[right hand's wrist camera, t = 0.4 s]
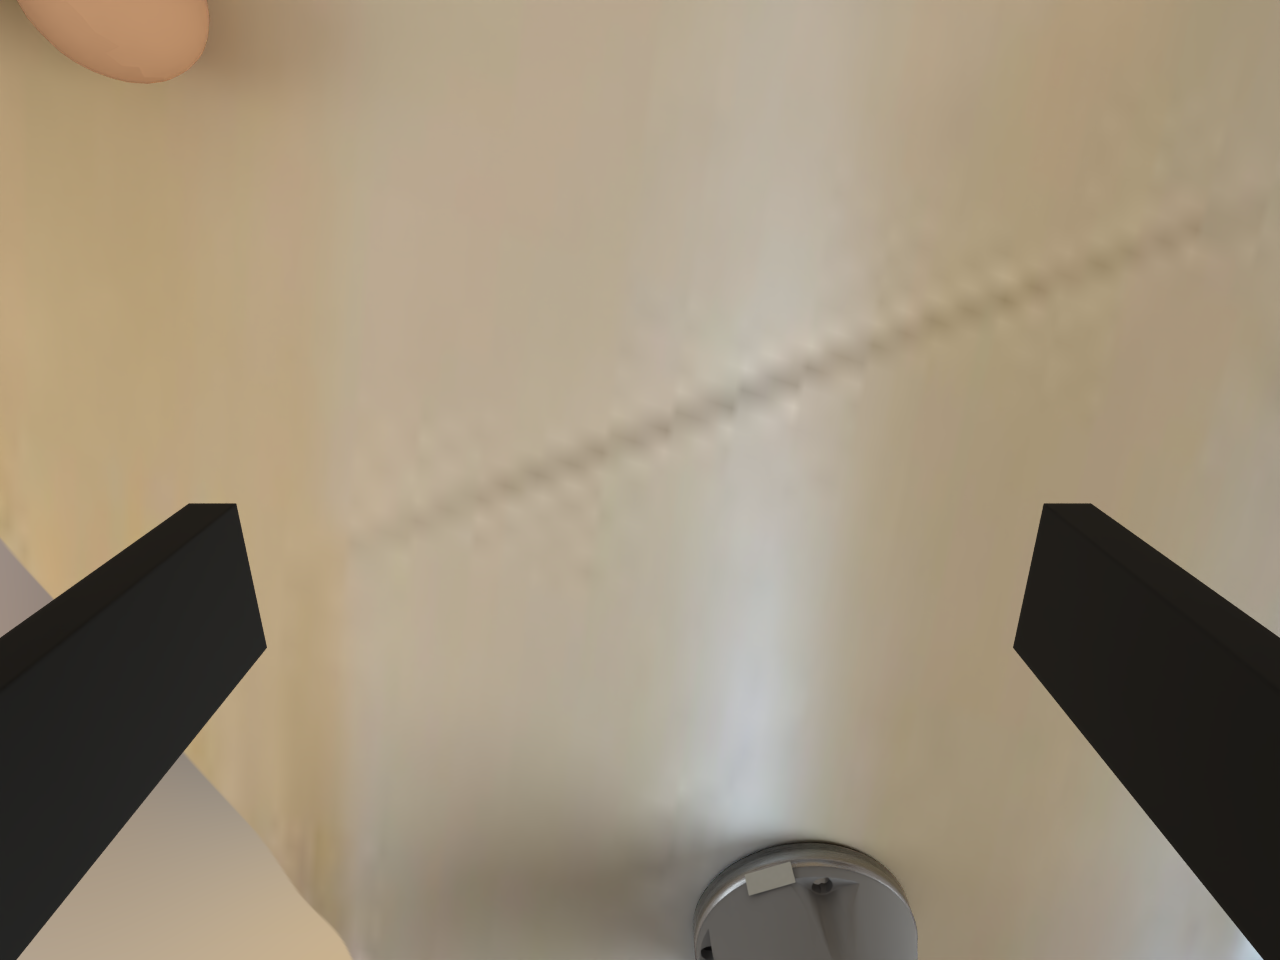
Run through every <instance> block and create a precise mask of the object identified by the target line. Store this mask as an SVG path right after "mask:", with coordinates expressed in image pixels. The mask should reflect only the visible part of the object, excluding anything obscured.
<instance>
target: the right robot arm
mask: <svg viewBox="0 0 1280 960" xmlns="http://www.w3.org/2000/svg"><path fill="white" fill-rule="evenodd" d="M266 648H267V646H266V641H265V637H264V632H263V627H262V622H261V618H260V613H259V608H258V604H257V599H256V594H255V590H254V585H253V580H252V576H251V571H250V566H249V561H248V557H247V552H246V547H245V543H244V538H243V533H242V529H241V524H240V519H239V515H238V510H237V505H236V504H188V505H186V506H185V507H183V508H182V509H181V510H179V511H178V512H176V513H175V514H174V515H172V516H171V517H169V518H168V519H167V520H165V521H164V522H162V523H161V524H160V525H158V526H157V527H155V528H154V529H153V530H151V531H150V532H148V533H147V534H146V535H144V536H143V537H141V538H140V539H138V540H137V541H136V542H134V543H133V544H131V545H130V546H129V547H127V548H126V549H124V550H123V551H122V552H120V553H119V554H117V555H116V556H115V557H113V558H112V559H110V560H109V561H108V562H106V563H105V564H103V565H102V566H101V567H99V568H98V569H96V570H95V571H94V572H92V573H91V574H89V575H88V576H86V577H85V578H84V579H82V580H81V581H79V582H78V583H77V584H75V585H74V586H72V587H71V588H70V589H68V590H67V591H65V592H64V593H63V594H61V595H60V596H58V597H57V598H56V599H54V600H53V601H51V602H50V603H49V604H47V605H46V606H44V607H43V608H42V609H40V610H39V611H37V612H36V613H34V614H33V615H32V616H30V617H29V618H27V619H26V620H25V621H23V622H22V623H20V624H19V625H18V626H16V627H15V628H13V629H12V630H11V631H9V632H8V633H6V634H5V635H4V636H2V637H1V638H0V960H16V959H17V958H18V957H19V956H20V954H21V953H22V952H23V951H24V950H25V948H26V947H27V946H28V945H29V943H30V942H31V941H32V940H33V938H34V937H35V936H36V935H37V933H38V932H39V931H40V930H41V928H42V927H43V926H44V925H45V923H46V922H47V921H48V920H49V918H50V917H51V916H52V915H53V913H54V912H55V911H56V910H57V908H58V907H59V906H60V905H61V903H62V902H63V901H64V900H65V898H66V897H67V896H68V895H69V894H70V892H71V891H72V890H73V889H74V887H75V886H76V885H77V884H78V882H79V881H80V880H81V878H82V877H83V876H84V875H85V874H86V872H87V871H88V870H89V869H90V867H91V866H92V865H93V864H94V862H95V861H96V860H97V859H98V857H99V856H100V855H101V854H102V852H103V851H104V850H105V849H106V847H107V846H108V845H109V844H110V842H111V841H112V840H113V839H114V837H115V836H116V835H117V834H118V832H119V831H120V830H121V829H122V827H123V826H124V825H125V824H126V822H127V821H128V820H129V819H130V817H131V816H132V815H133V814H134V813H135V811H136V810H137V809H138V808H139V806H140V805H141V804H142V803H143V801H144V800H145V799H146V797H147V796H148V795H149V794H150V793H151V791H152V790H153V789H154V788H155V786H156V785H157V784H158V783H159V781H160V780H161V779H162V778H163V776H164V775H165V774H166V773H167V771H168V770H169V769H170V768H171V766H172V765H173V764H174V763H175V761H176V760H177V759H178V758H179V756H180V755H181V754H182V753H183V751H184V750H185V749H186V748H187V747H188V745H189V744H190V743H191V742H192V740H193V739H194V738H195V737H196V735H197V734H198V733H199V732H200V730H201V729H202V728H203V727H204V725H205V724H206V723H207V722H208V720H209V719H210V718H211V717H212V715H213V714H214V713H215V712H216V710H217V709H218V708H219V707H220V705H221V704H222V703H223V702H224V700H225V699H226V698H227V697H228V695H229V694H230V693H231V692H232V690H233V689H234V688H235V687H236V685H237V684H238V683H239V682H240V680H241V679H242V678H243V677H244V675H245V674H246V673H247V672H248V671H249V669H250V668H251V667H252V666H253V664H254V663H255V662H256V661H257V659H258V658H259V657H260V656H261V654H262V653H263V652H264V651H265V649H266ZM1013 648H1014V649H1015V651H1016V652H1017V653H1018V654H1019V656H1020V657H1021V658H1022V659H1023V661H1024V662H1025V663H1026V664H1027V666H1028V667H1029V668H1030V669H1031V671H1032V672H1033V673H1034V674H1035V675H1036V677H1037V678H1038V679H1039V680H1040V682H1041V683H1042V684H1043V685H1044V687H1045V688H1046V689H1047V690H1048V692H1049V693H1050V694H1051V695H1052V697H1053V698H1054V699H1055V700H1056V702H1057V703H1058V704H1059V705H1060V707H1061V708H1062V709H1063V710H1064V712H1065V713H1066V714H1067V715H1068V717H1069V718H1070V719H1071V720H1072V722H1073V723H1074V724H1075V725H1076V727H1077V728H1078V729H1079V730H1080V732H1081V733H1082V734H1083V735H1084V737H1085V738H1086V739H1087V740H1088V742H1089V743H1090V744H1091V745H1092V747H1093V748H1094V749H1095V750H1096V751H1097V753H1098V754H1099V755H1100V756H1101V758H1102V759H1103V760H1104V761H1105V763H1106V764H1107V765H1108V766H1109V768H1110V769H1111V770H1112V771H1113V773H1114V774H1115V775H1116V776H1117V778H1118V779H1119V780H1120V781H1121V783H1122V784H1123V785H1124V786H1125V788H1126V789H1127V790H1128V791H1129V793H1130V794H1131V795H1132V796H1133V798H1134V799H1135V800H1136V801H1137V803H1138V804H1139V805H1140V806H1141V808H1142V809H1143V810H1144V811H1145V813H1146V814H1147V815H1148V816H1149V818H1150V819H1151V820H1152V821H1153V822H1154V824H1155V825H1156V826H1157V827H1158V829H1159V830H1160V831H1161V832H1162V834H1163V835H1164V836H1165V837H1166V839H1167V840H1168V841H1169V842H1170V844H1171V845H1172V846H1173V847H1174V849H1175V850H1176V851H1177V852H1178V854H1179V855H1180V856H1181V857H1182V859H1183V860H1184V861H1185V862H1186V864H1187V865H1188V866H1189V867H1190V869H1191V870H1192V871H1193V872H1194V874H1195V875H1196V876H1197V877H1198V879H1199V880H1200V881H1201V882H1202V884H1203V885H1204V886H1205V887H1206V889H1207V890H1208V891H1209V892H1210V894H1211V895H1212V896H1213V897H1214V898H1215V900H1216V901H1217V902H1218V903H1219V905H1220V906H1221V907H1222V908H1223V910H1224V911H1225V912H1226V913H1227V915H1228V916H1229V917H1230V918H1231V920H1232V921H1233V922H1234V923H1235V925H1236V926H1237V927H1238V928H1239V930H1240V931H1241V932H1242V933H1243V935H1244V936H1245V937H1246V938H1247V940H1248V941H1249V942H1250V943H1251V945H1252V946H1253V947H1254V948H1255V950H1256V951H1257V952H1258V953H1259V955H1260V956H1261V957H1262V958H1263V960H1280V638H1279V637H1278V636H1276V635H1275V634H1274V633H1272V632H1271V631H1269V630H1268V629H1267V628H1265V627H1264V626H1262V625H1261V624H1260V623H1258V622H1257V621H1255V620H1254V619H1253V618H1251V617H1250V616H1248V615H1247V614H1246V613H1244V612H1243V611H1241V610H1240V609H1239V608H1237V607H1236V606H1234V605H1233V604H1231V603H1230V602H1229V601H1227V600H1226V599H1224V598H1223V597H1222V596H1220V595H1219V594H1217V593H1216V592H1215V591H1213V590H1212V589H1210V588H1209V587H1208V586H1206V585H1205V584H1203V583H1202V582H1201V581H1199V580H1198V579H1196V578H1195V577H1194V576H1192V575H1191V574H1189V573H1188V572H1186V571H1185V570H1184V569H1182V568H1181V567H1179V566H1178V565H1177V564H1175V563H1174V562H1172V561H1171V560H1170V559H1168V558H1167V557H1165V556H1164V555H1163V554H1161V553H1160V552H1158V551H1157V550H1156V549H1154V548H1153V547H1151V546H1150V545H1149V544H1147V543H1146V542H1144V541H1143V540H1142V539H1140V538H1139V537H1137V536H1136V535H1134V534H1133V533H1132V532H1130V531H1129V530H1127V529H1126V528H1125V527H1123V526H1122V525H1120V524H1119V523H1118V522H1116V521H1115V520H1113V519H1112V518H1111V517H1109V516H1108V515H1106V514H1105V513H1104V512H1102V511H1101V510H1099V509H1098V508H1097V507H1095V506H1094V505H1092V504H1044V505H1043V510H1042V514H1041V519H1040V524H1039V529H1038V533H1037V538H1036V543H1035V547H1034V552H1033V557H1032V561H1031V566H1030V571H1029V576H1028V580H1027V585H1026V590H1025V594H1024V599H1023V604H1022V608H1021V613H1020V618H1019V622H1018V627H1017V632H1016V637H1015V641H1014V646H1013Z"/></svg>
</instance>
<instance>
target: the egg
mask: <svg viewBox="0 0 1280 960" xmlns="http://www.w3.org/2000/svg"><path fill="white" fill-rule="evenodd" d="M17 1H18V3H19V4H20V6H21V8H22V10H23V11H24V13H25V15H26V17H27V18H28V19H29V20H30V21H31V23H32V24H33V25H34V26H35V27H36V28H37V30H38V31H39V32H40V33H41V34H42V35H43V36H44V37H45V38H46V39H47V40H48V41H49V42H50V43H52V44H53V45H54V46H55V47H56V48H57V49H58V50H59V51H60V52H61V53H63V54H64V55H66V56H67V57H68V58H70V59H71V60H73V61H74V62H76V63H78V64H80V65H82V66H84V67H86V68H88V69H90V70H92V71H94V72H96V73H99V74H102V75H105V76H107V77H110V78H114V79H118V80H121V81H125V82H133V83H145V84H148V83H155V82H163V81H166V80H170V79H172V78H174V77H176V76H178V75H180V74H182V73H183V72H185V71H187V70H188V69H189V68H190V67H191V66H192V65H193V64H194V63H195V62H196V61H197V60H198V59H199V57H200V56H201V54H202V53H203V50H204V47H205V45H206V42H207V39H208V30H209V20H210V18H209V11H208V5H207V0H17Z"/></svg>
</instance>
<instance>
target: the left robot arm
mask: <svg viewBox="0 0 1280 960" xmlns="http://www.w3.org/2000/svg"><path fill="white" fill-rule="evenodd" d="M693 932H694V946H695V958H696V960H918V954H917V940H918V935H917V927H916V922H915V920H914V917H913V914H912V911H911V909H910V906H909V903H908V901H907V898H906V895H905V893H904V891H903V889H902V887H901V885H900V883H899V882H898V881H897V879H896V878H895V877H894V876H893V874H892V873H891V872H890V871H889V870H888V869H886V868H885V867H884V866H883V865H882V864H880V863H879V862H877V861H876V860H874V859H872V858H871V857H869V856H867V855H865V854H862V853H860V852H858V851H855V850H852V849H849V848H845V847H841V846H837V845H831V844H822V843H796V844H788V845H782V846H777V847H772V848H769V849H765V850H762V851H759V852H757V853H754V854H751V855H749V856H747V857H745V858H743V859H741V860H739V861H738V862H736V863H734V864H733V865H731V866H730V867H728V868H727V869H725V870H724V871H723V872H722V873H721V874H719V875H718V876H717V877H716V878H715V879H714V880H713V881H712V882H711V883H710V885H709V886H708V887H707V888H706V890H705V891H704V893H703V895H702V896H701V898H700V900H699V902H698V904H697V907H696V910H695V915H694V921H693Z"/></svg>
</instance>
